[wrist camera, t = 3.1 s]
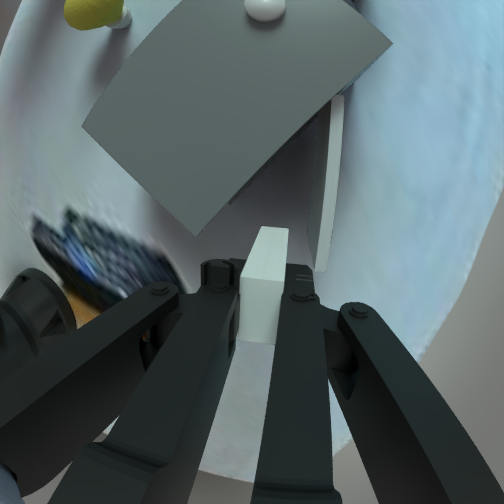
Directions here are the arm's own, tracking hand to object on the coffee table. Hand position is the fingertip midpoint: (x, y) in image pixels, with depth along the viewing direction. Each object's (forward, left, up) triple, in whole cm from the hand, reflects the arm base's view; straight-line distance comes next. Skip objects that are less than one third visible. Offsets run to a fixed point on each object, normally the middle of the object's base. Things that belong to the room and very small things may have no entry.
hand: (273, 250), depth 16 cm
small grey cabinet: (+7, +10, -14) cm, 18 cm away
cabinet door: (+5, 0, -12) cm, 13 cm away
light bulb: (+5, +30, -14) cm, 33 cm away
